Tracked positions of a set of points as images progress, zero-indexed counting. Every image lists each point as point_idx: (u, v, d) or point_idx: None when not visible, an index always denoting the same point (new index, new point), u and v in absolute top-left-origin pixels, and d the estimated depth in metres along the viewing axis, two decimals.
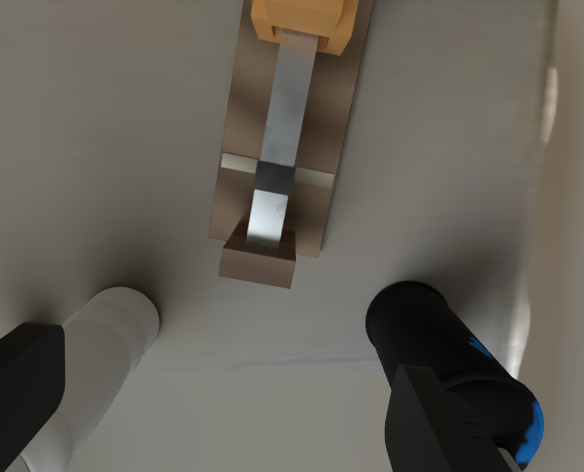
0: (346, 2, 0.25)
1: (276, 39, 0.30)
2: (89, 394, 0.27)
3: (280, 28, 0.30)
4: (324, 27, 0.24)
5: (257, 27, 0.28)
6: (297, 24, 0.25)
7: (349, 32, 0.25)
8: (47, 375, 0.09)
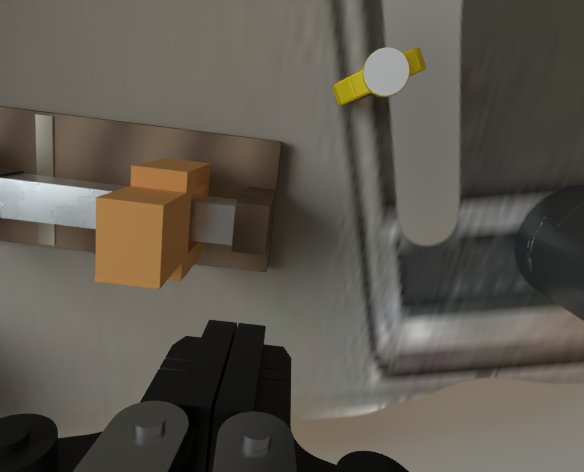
0: None
1: None
2: None
3: None
4: None
5: None
6: None
7: None
8: None
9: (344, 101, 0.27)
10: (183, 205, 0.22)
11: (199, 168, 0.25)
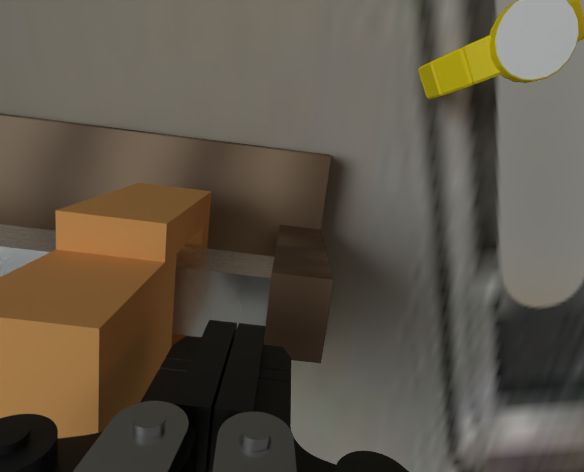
0: None
1: None
2: None
3: None
4: None
5: None
6: None
7: None
8: None
9: (445, 91, 0.16)
10: (158, 289, 0.11)
11: (192, 206, 0.14)
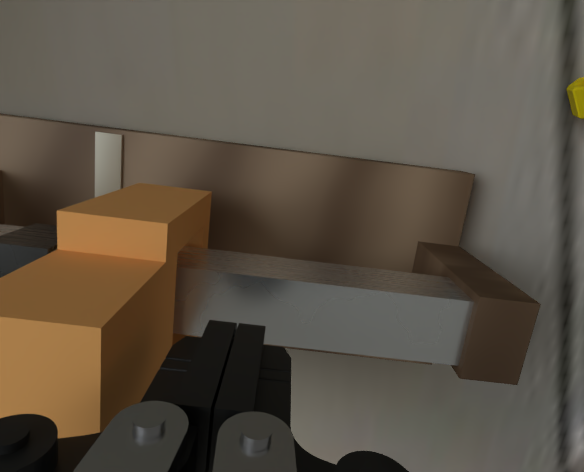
0: None
1: None
2: None
3: None
4: None
5: None
6: None
7: None
8: None
9: None
10: (159, 289, 0.11)
11: (192, 206, 0.14)
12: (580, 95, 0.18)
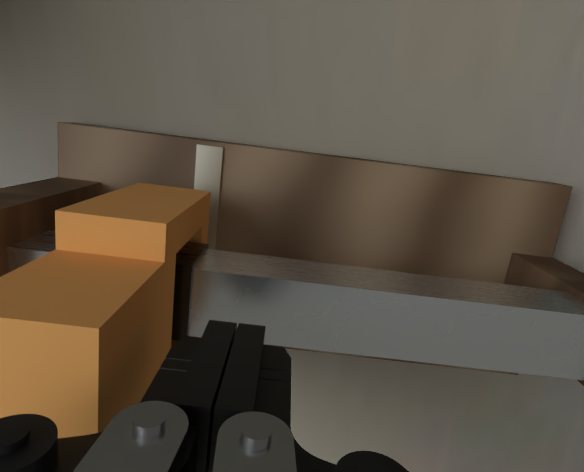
0: None
1: None
2: None
3: None
4: None
5: None
6: None
7: None
8: None
9: None
10: (158, 289, 0.11)
11: (191, 206, 0.14)
12: None
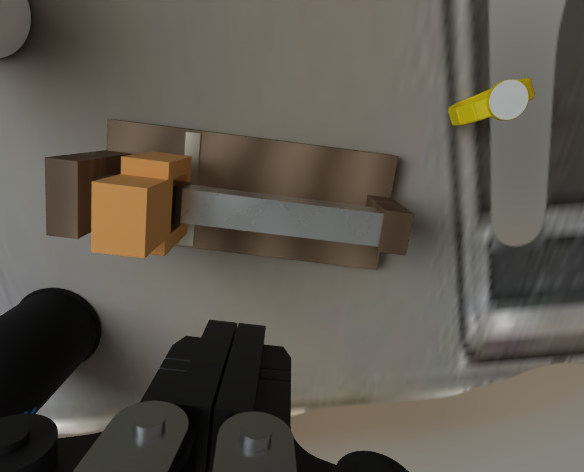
0: None
1: None
2: None
3: None
4: None
5: None
6: None
7: None
8: None
9: (463, 123, 0.32)
10: (165, 190, 0.26)
11: (180, 160, 0.29)
12: (450, 113, 0.33)
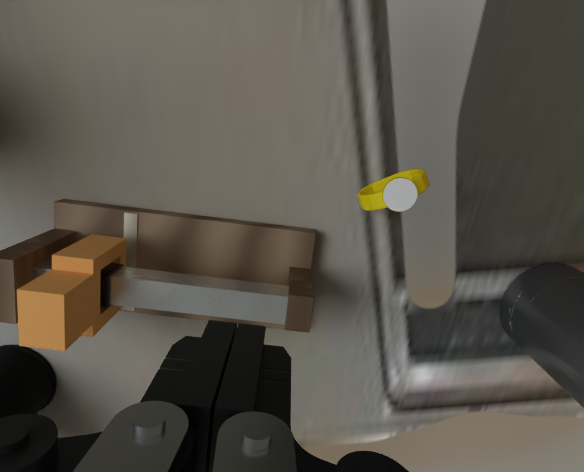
0: None
1: None
2: None
3: None
4: None
5: None
6: None
7: None
8: None
9: (367, 209, 0.36)
10: (90, 284, 0.30)
11: (110, 249, 0.33)
12: (358, 198, 0.37)
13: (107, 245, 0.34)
